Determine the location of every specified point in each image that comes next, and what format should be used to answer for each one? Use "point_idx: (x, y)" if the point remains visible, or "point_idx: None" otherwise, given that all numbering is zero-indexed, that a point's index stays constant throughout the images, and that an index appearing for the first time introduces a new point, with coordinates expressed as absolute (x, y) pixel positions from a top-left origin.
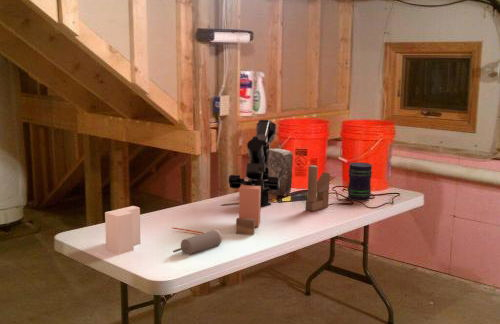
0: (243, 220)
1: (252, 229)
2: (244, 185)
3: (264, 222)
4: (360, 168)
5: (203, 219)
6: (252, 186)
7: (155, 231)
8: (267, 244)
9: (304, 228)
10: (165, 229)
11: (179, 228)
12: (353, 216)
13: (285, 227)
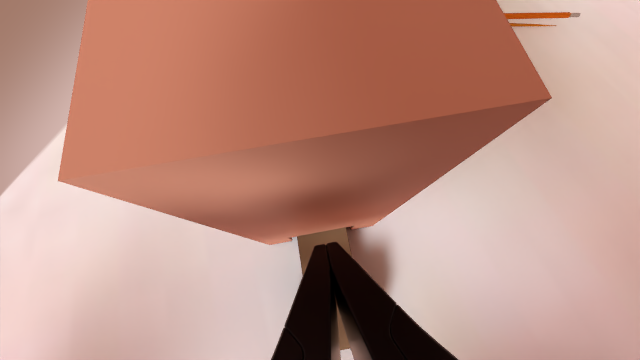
0: None
1: None
2: (469, 84)
3: (253, 275)
4: None
5: (574, 203)
6: (259, 64)
7: (608, 3)
8: None
9: (30, 247)
10: (597, 29)
11: (544, 13)
12: None
13: (131, 227)
